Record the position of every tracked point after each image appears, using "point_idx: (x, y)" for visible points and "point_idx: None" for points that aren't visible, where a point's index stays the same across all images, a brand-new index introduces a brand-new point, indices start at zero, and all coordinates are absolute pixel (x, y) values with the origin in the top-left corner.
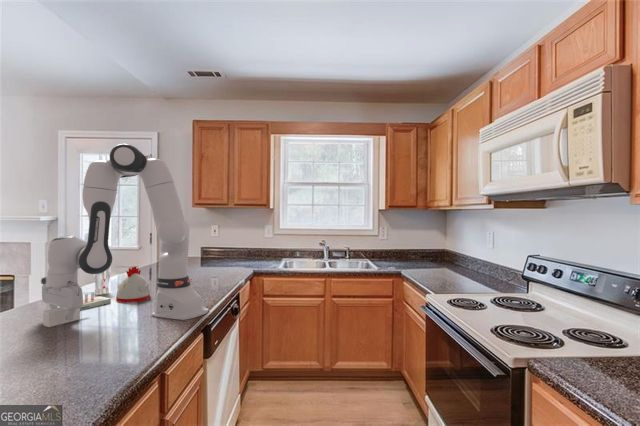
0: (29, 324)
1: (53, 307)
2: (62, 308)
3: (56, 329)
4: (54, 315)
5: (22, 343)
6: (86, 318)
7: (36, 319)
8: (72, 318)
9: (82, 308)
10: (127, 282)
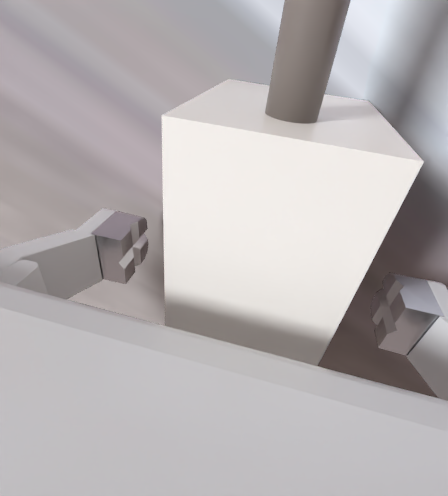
0: (115, 309)
1: (54, 283)
2: (239, 337)
3: (385, 352)
4: None
5: None
6: (438, 22)
7: (25, 233)
8: (441, 292)
9: (344, 6)
10: None
